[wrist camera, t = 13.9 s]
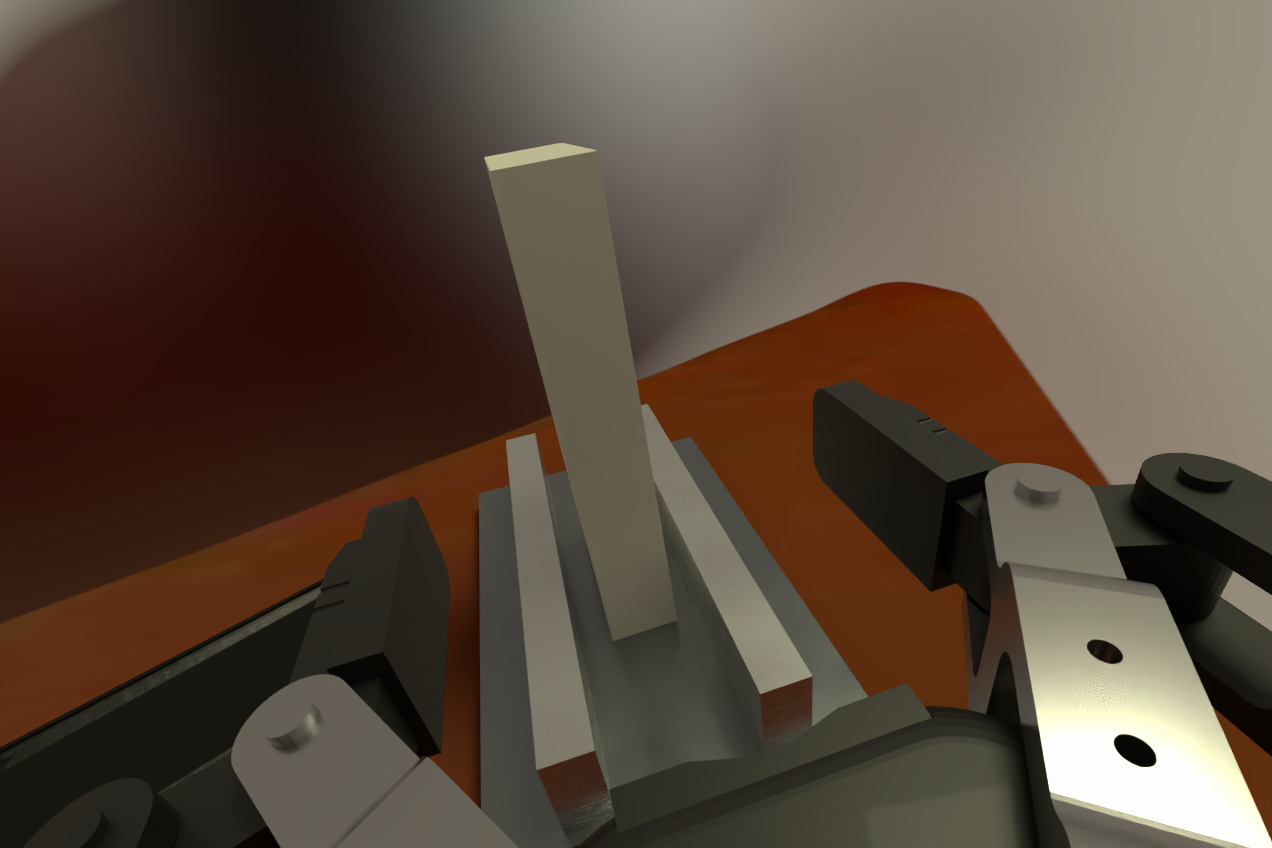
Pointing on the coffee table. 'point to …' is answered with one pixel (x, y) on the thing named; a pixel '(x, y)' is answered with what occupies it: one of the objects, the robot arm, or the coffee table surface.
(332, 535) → the coffee table surface
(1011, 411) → the coffee table surface
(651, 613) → the door leaf
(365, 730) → the robot arm
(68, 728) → the phone
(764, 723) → the floor track
